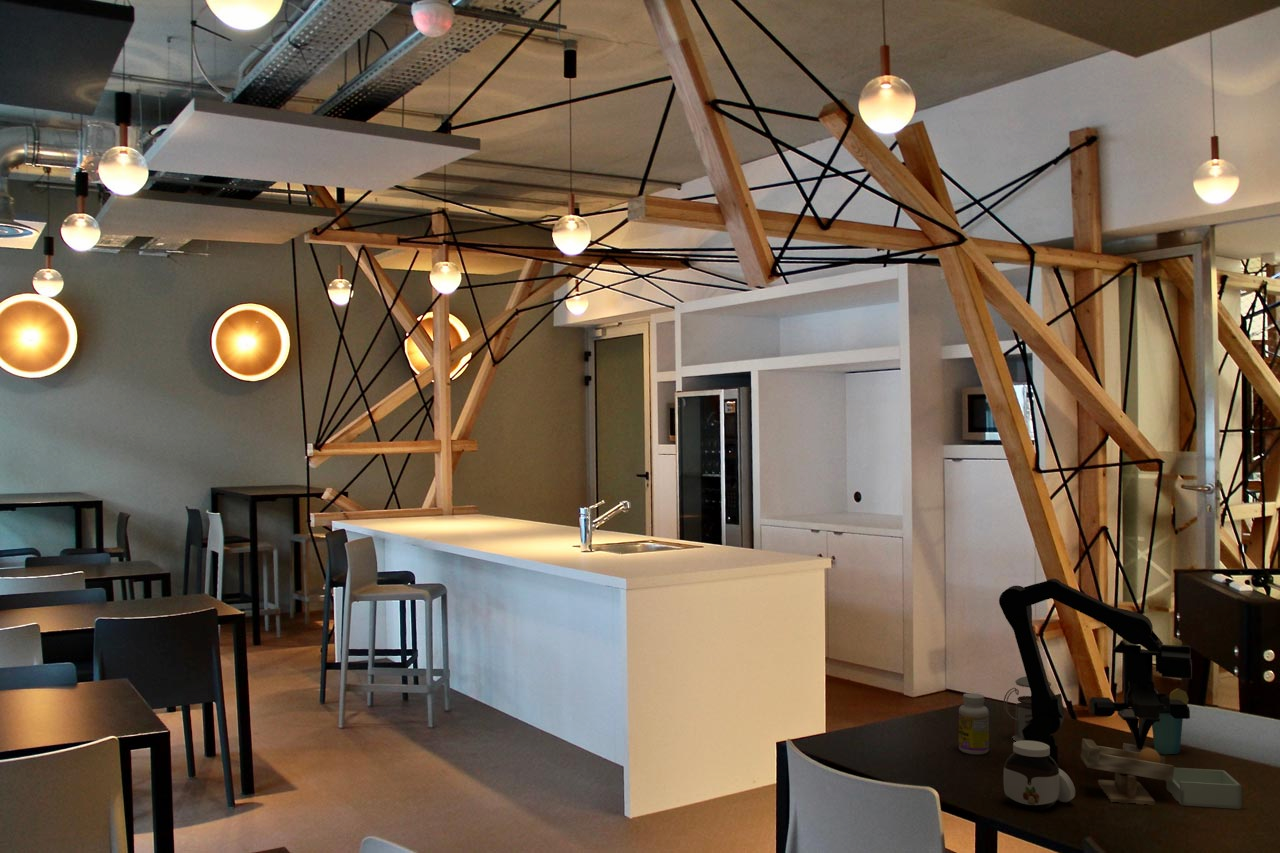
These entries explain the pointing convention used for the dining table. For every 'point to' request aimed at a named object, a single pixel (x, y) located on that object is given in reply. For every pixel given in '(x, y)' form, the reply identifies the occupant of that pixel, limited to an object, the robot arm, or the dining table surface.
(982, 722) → the supplement bottle
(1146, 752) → the ball
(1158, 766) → the lever
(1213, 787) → the tray
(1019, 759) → the spread jar
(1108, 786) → the stand
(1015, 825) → the dining table surface
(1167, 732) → the cup
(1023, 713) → the french press
